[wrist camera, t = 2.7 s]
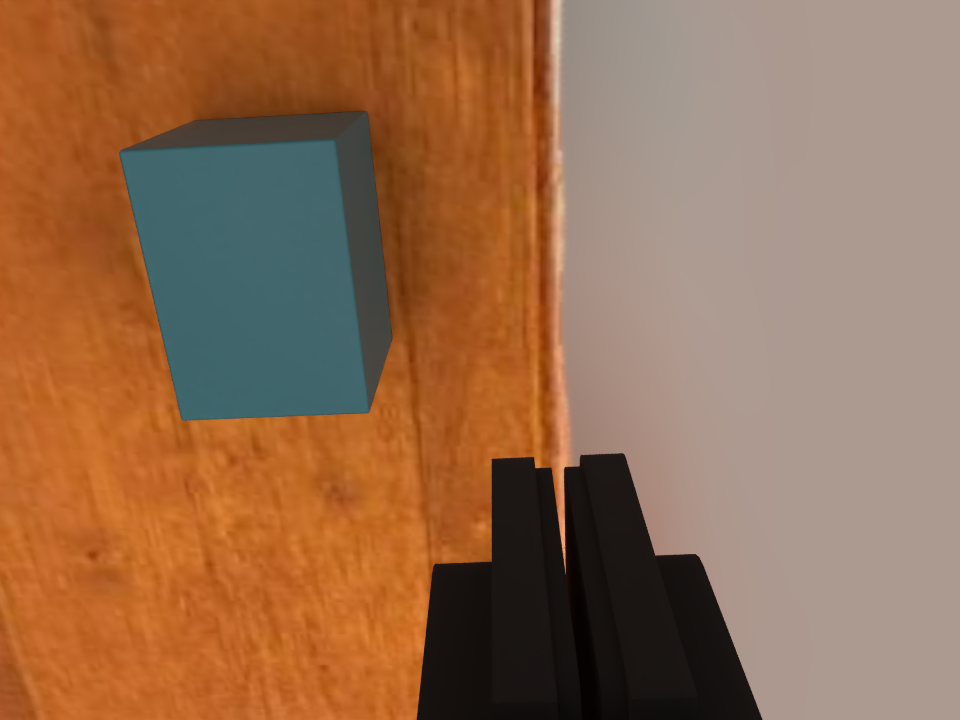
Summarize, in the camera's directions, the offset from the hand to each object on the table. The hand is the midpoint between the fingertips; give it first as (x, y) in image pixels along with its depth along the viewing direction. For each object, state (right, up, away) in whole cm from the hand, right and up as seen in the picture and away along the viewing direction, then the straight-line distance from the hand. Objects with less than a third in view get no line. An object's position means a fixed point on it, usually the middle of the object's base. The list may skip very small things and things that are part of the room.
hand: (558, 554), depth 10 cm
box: (-6, +6, +14) cm, 16 cm away
